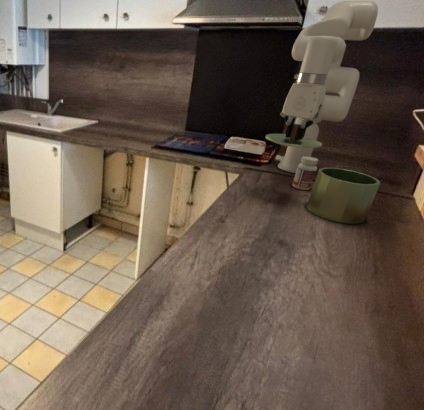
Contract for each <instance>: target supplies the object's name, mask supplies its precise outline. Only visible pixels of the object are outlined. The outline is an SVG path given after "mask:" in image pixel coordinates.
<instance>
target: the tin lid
mask: <svg viewBox="0 0 424 410" xmlns="http://www.w3.org/2000/svg"><path fill="white" fill-rule="evenodd" d="M300 127H301V124H293V126H292V130H291V133H290V136H289V138H286V137H285V136H286V134H285V133H268V134H265V139H266V140H268V141H270V142H272V143H275V144H277V145H281V146H284V147H285V146H286V147H288V146H290V147H297V148H314V149H317V148H321V147H322V146H323V143H322V142H320V141H318V140H313V139H310V138H306V137H303V138H302V140H296V139H295V138H296V134H297V131H298V128H300Z"/></svg>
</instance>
